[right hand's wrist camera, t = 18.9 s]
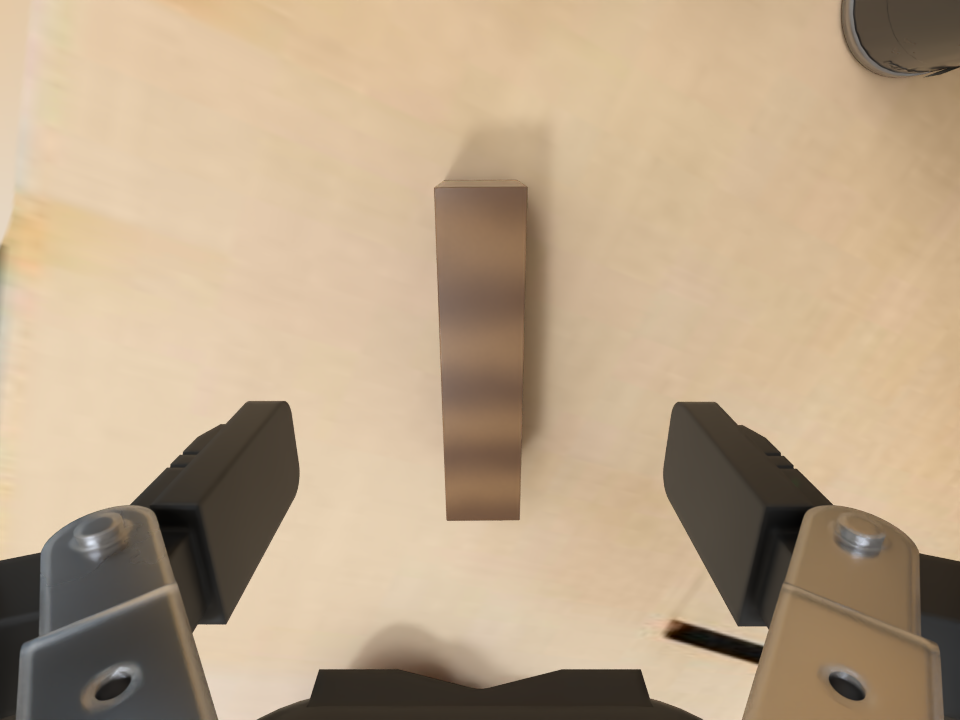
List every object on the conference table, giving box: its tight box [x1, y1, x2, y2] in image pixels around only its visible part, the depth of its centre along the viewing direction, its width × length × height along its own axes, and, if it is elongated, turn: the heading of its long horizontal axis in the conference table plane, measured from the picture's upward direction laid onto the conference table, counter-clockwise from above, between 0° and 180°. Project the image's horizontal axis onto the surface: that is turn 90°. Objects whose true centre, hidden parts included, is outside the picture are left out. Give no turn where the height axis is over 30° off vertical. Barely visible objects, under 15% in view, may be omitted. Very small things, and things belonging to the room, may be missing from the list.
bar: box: [434, 180, 527, 521], centre depth 37 cm, size 23×5×8 cm, turn 0°
